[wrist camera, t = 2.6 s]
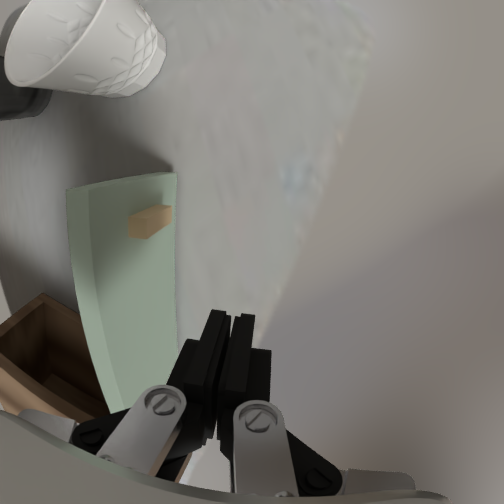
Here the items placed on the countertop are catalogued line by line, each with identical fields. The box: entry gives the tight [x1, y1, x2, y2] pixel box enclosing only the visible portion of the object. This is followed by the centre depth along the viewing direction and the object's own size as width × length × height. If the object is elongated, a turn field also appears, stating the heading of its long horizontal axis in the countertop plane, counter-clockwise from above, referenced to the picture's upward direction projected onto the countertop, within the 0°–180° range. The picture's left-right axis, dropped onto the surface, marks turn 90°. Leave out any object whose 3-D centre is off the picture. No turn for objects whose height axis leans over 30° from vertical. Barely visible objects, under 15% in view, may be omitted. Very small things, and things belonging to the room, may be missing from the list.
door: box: [66, 172, 178, 414], centre depth 16 cm, size 2×16×10 cm, turn 175°
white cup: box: [4, 0, 166, 98], centre depth 12 cm, size 8×8×10 cm
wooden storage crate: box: [0, 293, 111, 424], centre depth 21 cm, size 13×16×11 cm
